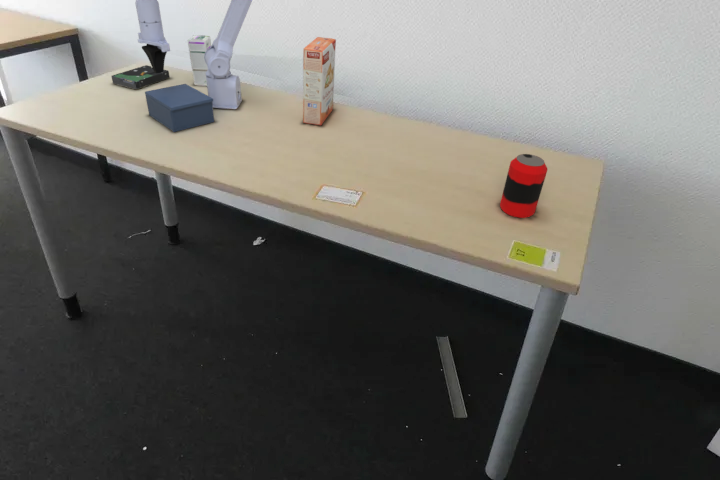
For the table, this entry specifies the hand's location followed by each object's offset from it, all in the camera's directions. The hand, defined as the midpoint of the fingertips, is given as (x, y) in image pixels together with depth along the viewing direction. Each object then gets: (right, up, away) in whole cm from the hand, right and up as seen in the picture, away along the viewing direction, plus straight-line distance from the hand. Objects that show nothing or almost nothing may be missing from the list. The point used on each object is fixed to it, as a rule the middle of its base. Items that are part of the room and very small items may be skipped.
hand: (158, 72), depth 143 cm
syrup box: (+5, +5, +26) cm, 27 cm away
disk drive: (-15, +5, +24) cm, 29 cm away
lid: (+7, -8, -3) cm, 11 cm away
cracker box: (+44, -11, +7) cm, 46 cm away
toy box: (+6, -13, 0) cm, 14 cm away
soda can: (+91, -41, -31) cm, 104 cm away
